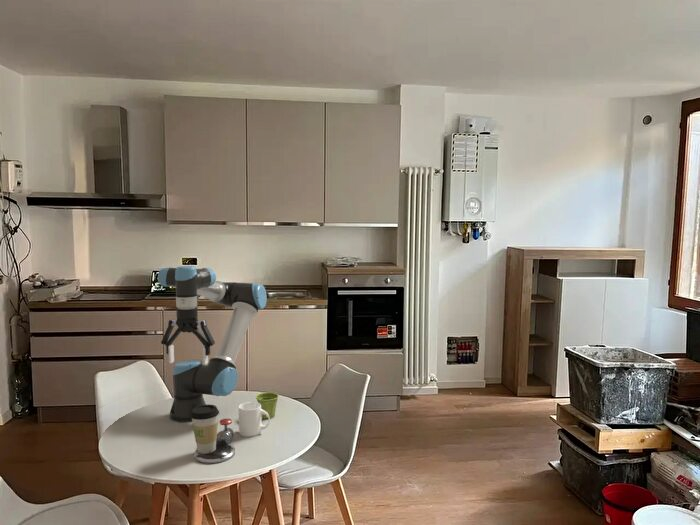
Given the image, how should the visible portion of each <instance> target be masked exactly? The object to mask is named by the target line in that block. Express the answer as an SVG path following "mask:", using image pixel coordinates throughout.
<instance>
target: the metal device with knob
mask: <svg viewBox="0 0 700 525" xmlns="http://www.w3.org/2000/svg"><path fill="white" fill-rule="evenodd" d="M232 423H233V420H232V419H231V418H221V419H220V420H219V424H220V425H221V426H224V429H223V430H220V431H218V432H217V439H216V449H215V451H213V452H211V453H206V454H202V453H199V452H198V449H196V450H195V451H194V454H193V458H194V460H195V461H196V462H198V463H201V464H206V465H207V464H208V465H212V464H219V463H223V462H227V461H229V460H231V459H232V458H233V457H234V456H236V448H235V447H234V445H233V444H231V443H232V440H233V438H234V435H235V434H234V433H235V432H234V429H232V428H231V427H228V425H231V424H232Z"/></svg>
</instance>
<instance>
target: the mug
mask: <svg viewBox="0 0 700 525" xmlns="http://www.w3.org/2000/svg"><path fill="white" fill-rule="evenodd" d="M261 414H264V415H266V416H267V417H268V418H267V419H268V422H267V424H263V423H262V418H261ZM270 422H271V418H270V417H269V415H268V413H267V412H266V411H264V410H263V409H261V404H260V403H258V401H256V402H255V401H249V402H244V403H241V404H239V405H238V433H239V434H240V435H241V436H243V437H251V438H252V437H256V436H258V435H260V434H261V432H262V430H265V429H267V428H268V427H269V426H270Z"/></svg>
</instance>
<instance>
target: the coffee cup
mask: <svg viewBox="0 0 700 525" xmlns="http://www.w3.org/2000/svg"><path fill="white" fill-rule="evenodd" d="M219 410H220V409H219V408H218V407H217V405H215V404H206V405H200V406H197V407H195V408H193V409H192V412H191V415H190V417H191V418H192V421H191V423H192V430H193V433H194V439H195V443H196V448H197V449H198V452H199V453H202V454H206V453H211V452H213V451H215V449H216V439H217V434H218V424H219V420H218V416H219V415H220V411H219ZM197 449H196V450H197Z"/></svg>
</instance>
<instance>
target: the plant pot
mask: <svg viewBox="0 0 700 525" xmlns="http://www.w3.org/2000/svg"><path fill="white" fill-rule="evenodd" d="M278 398H279V394H278V393H276V392H263V393H262V392H261V393H259V394H256V396H255V399H256V402H257V403H260V404H261V409H263V410H264V411H266V412H267V413H268V415H269V417H270V419H272V417H273V418H274V417H275V416H276V408H277V402H278ZM265 418H267V419H268V417H267V416H266V415H264V414H261V419H265Z"/></svg>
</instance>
